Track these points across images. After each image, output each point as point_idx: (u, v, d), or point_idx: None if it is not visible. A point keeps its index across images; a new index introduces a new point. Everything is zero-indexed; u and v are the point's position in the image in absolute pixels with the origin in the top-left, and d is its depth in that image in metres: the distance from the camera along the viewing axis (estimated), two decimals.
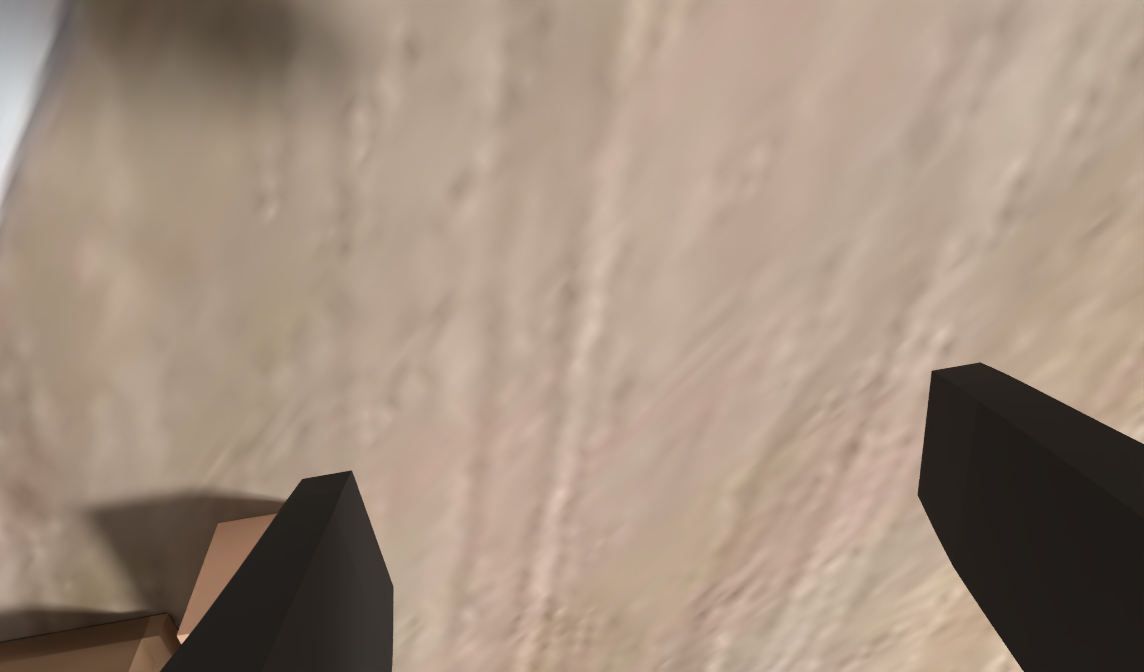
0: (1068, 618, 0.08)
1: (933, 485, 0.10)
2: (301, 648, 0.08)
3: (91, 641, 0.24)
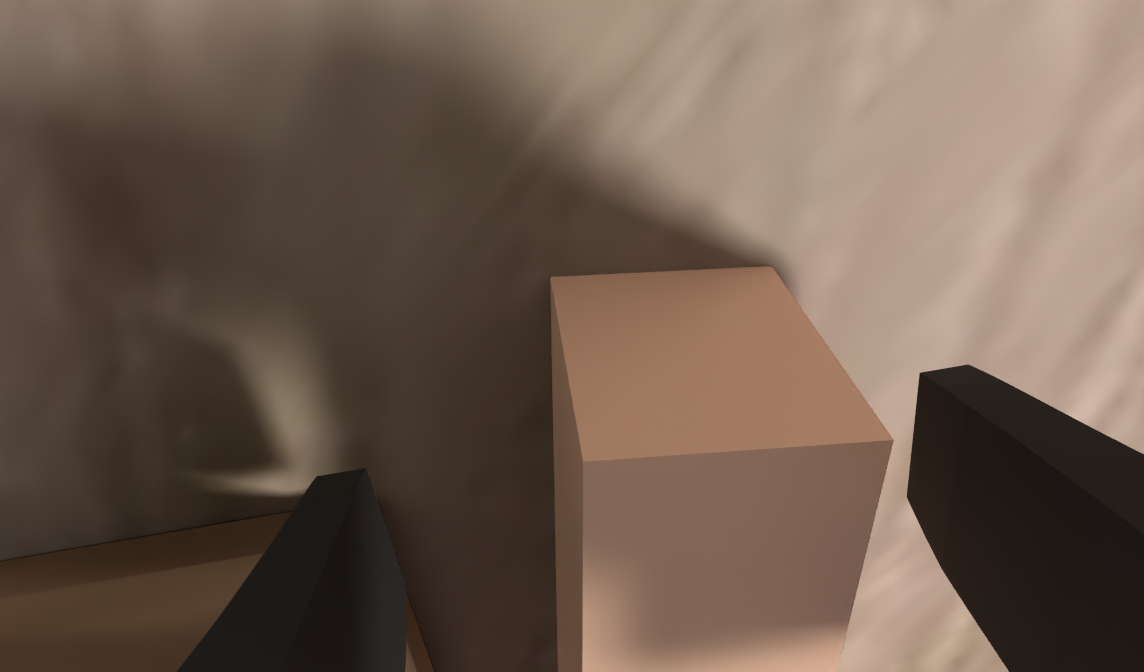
0: (1054, 620, 0.08)
1: (922, 487, 0.10)
2: (319, 645, 0.08)
3: (229, 547, 0.12)
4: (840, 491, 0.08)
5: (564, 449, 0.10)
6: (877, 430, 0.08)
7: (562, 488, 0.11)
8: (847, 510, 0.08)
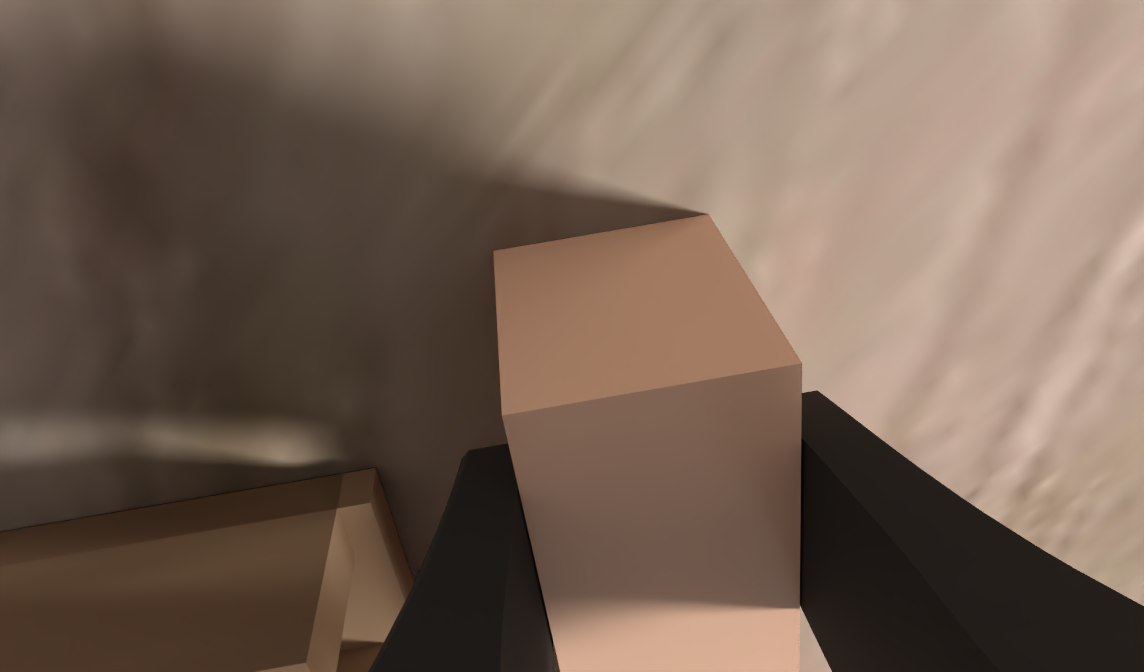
0: (871, 653, 0.08)
1: None
2: (515, 610, 0.08)
3: (237, 514, 0.12)
4: (760, 419, 0.09)
5: None
6: (787, 356, 0.08)
7: None
8: (772, 437, 0.09)
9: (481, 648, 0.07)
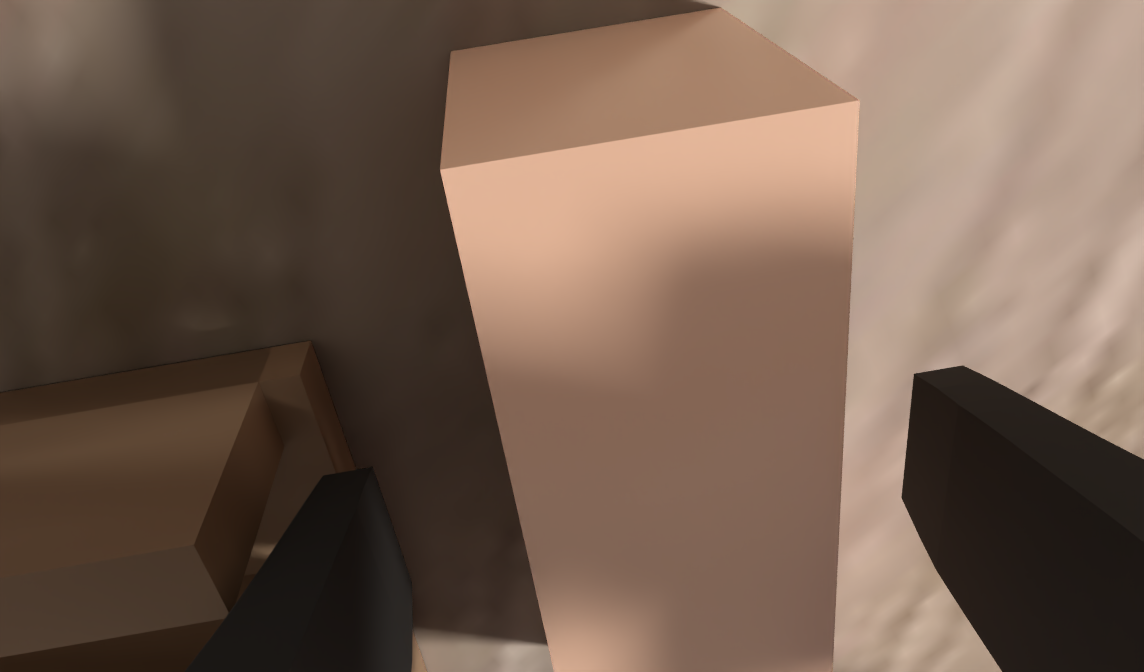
0: (1047, 622, 0.08)
1: (916, 488, 0.10)
2: (328, 643, 0.08)
3: (137, 391, 0.10)
4: (799, 189, 0.06)
5: None
6: (837, 96, 0.06)
7: None
8: (814, 220, 0.06)
9: None
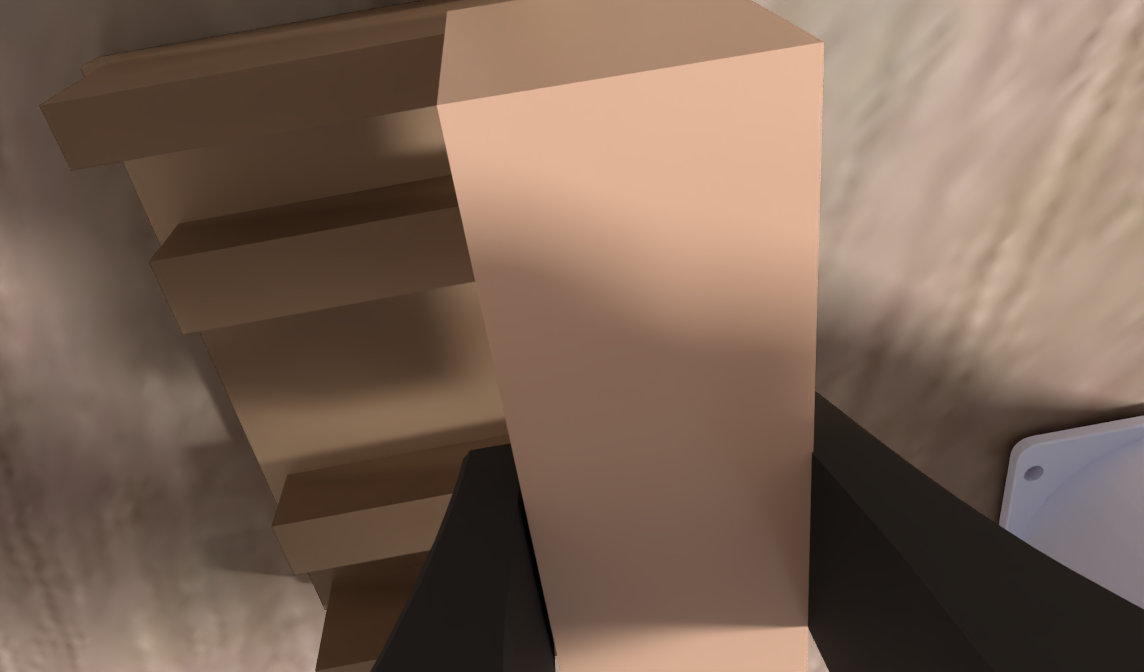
0: (868, 654, 0.08)
1: None
2: (517, 610, 0.08)
3: None
4: (770, 127, 0.07)
5: None
6: (804, 39, 0.07)
7: None
8: (783, 157, 0.07)
9: (483, 648, 0.07)
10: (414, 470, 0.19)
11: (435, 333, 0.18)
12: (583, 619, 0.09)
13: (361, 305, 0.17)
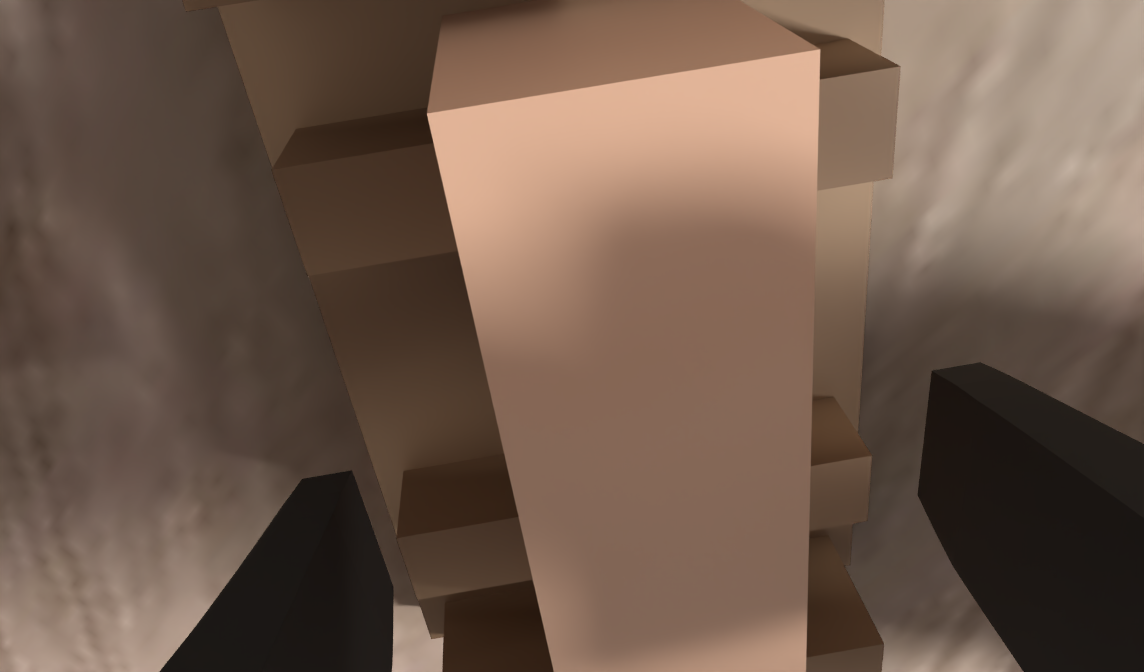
0: (1068, 618, 0.08)
1: (933, 485, 0.10)
2: (301, 648, 0.08)
3: None
4: (765, 135, 0.07)
5: None
6: (800, 46, 0.06)
7: None
8: (779, 165, 0.07)
9: None
10: None
11: None
12: (578, 630, 0.09)
13: None
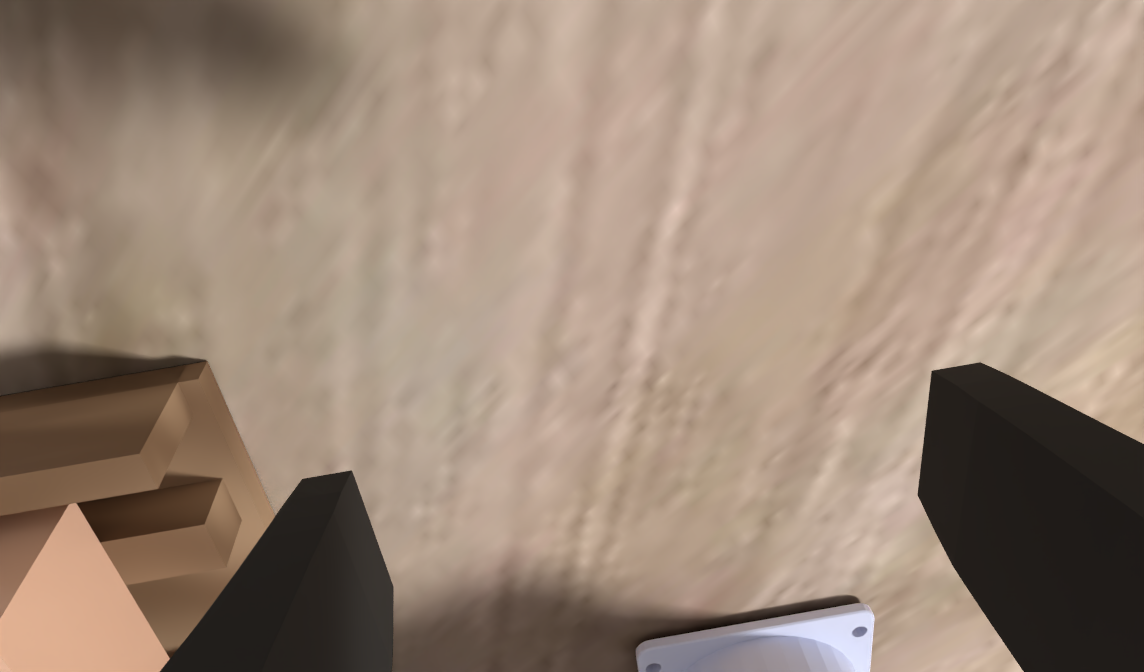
0: (1068, 618, 0.08)
1: (933, 485, 0.10)
2: (301, 648, 0.08)
3: (117, 387, 0.20)
4: None
5: None
6: None
7: None
8: None
9: None
10: None
11: (130, 592, 0.23)
12: None
13: None
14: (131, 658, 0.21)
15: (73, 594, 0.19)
